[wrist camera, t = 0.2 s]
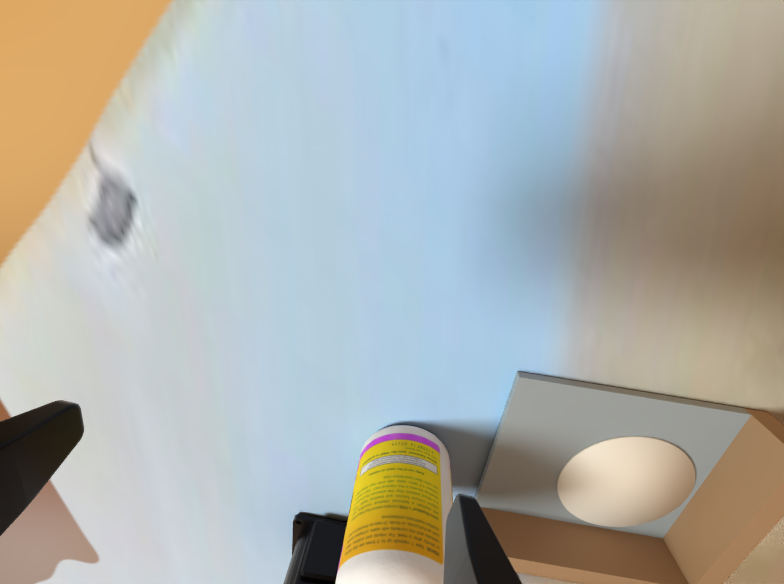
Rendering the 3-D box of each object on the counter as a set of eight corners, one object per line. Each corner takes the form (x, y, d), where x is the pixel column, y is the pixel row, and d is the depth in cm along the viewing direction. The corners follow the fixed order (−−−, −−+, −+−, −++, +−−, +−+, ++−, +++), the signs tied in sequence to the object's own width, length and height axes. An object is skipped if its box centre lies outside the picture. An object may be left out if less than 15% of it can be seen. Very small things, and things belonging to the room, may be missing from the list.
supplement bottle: (346, 434, 27) (286, 662, 16) (429, 410, 26) (430, 645, 14) (384, 492, 30) (357, 730, 18) (462, 474, 28) (487, 721, 16)
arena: (668, 545, 29) (703, 605, 26) (469, 511, 30) (475, 564, 26) (767, 411, 23) (829, 464, 20) (517, 371, 24) (533, 415, 20)
